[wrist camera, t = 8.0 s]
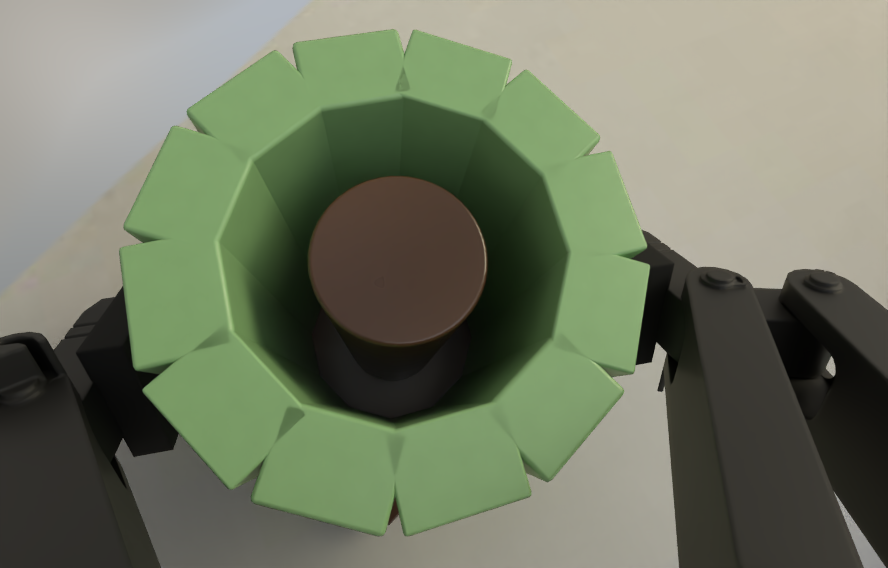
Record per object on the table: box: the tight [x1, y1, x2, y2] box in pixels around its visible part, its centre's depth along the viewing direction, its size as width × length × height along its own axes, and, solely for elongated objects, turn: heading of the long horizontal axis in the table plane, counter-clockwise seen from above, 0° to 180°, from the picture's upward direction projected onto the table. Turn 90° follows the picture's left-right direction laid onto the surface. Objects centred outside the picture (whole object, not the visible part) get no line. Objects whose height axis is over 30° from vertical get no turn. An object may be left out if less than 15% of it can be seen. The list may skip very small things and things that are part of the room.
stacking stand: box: [308, 176, 488, 525], centre depth 14 cm, size 9×9×11 cm
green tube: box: [119, 29, 650, 536], centre depth 13 cm, size 9×9×10 cm
